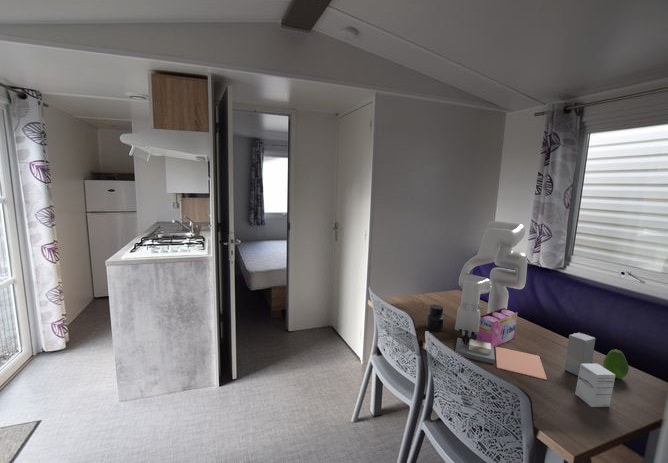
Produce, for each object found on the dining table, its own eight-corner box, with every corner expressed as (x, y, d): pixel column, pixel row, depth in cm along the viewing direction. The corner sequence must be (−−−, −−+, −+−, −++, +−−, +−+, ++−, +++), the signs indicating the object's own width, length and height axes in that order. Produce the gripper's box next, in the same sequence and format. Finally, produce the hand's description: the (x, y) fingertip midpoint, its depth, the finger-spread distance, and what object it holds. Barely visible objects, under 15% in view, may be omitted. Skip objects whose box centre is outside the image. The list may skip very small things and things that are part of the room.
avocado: (596, 371, 139) (601, 345, 137) (614, 371, 139) (619, 345, 137) (613, 383, 131) (618, 355, 129) (632, 383, 131) (637, 355, 129)
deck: (457, 341, 160) (457, 337, 160) (493, 349, 154) (493, 345, 154) (454, 354, 148) (455, 350, 148) (494, 363, 141) (494, 359, 141)
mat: (495, 347, 156) (495, 346, 156) (539, 356, 149) (539, 355, 149) (496, 368, 138) (497, 367, 138) (546, 380, 131) (546, 379, 131)
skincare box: (581, 378, 133) (587, 342, 131) (562, 369, 140) (567, 334, 137) (591, 373, 137) (598, 338, 135) (573, 364, 143) (578, 330, 141)
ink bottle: (442, 325, 178) (444, 304, 176) (445, 332, 170) (448, 310, 168) (423, 323, 179) (425, 303, 177) (426, 331, 170) (428, 309, 169)
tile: (468, 349, 149) (469, 344, 148) (469, 343, 154) (469, 338, 154) (490, 354, 145) (491, 349, 145) (490, 348, 151) (490, 343, 150)
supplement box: (574, 394, 123) (579, 363, 121) (592, 393, 123) (598, 362, 122) (591, 407, 116) (596, 374, 114) (610, 407, 116) (616, 374, 114)
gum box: (501, 331, 174) (504, 307, 172) (516, 337, 168) (520, 312, 166) (475, 342, 161) (478, 316, 159) (490, 349, 154) (494, 322, 152)
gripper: (487, 306, 150) (483, 344, 152) (453, 300, 156) (449, 336, 159) (487, 312, 143) (482, 351, 146) (451, 305, 149) (447, 343, 152)
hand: (465, 343), depth 152 cm, fingers closed
